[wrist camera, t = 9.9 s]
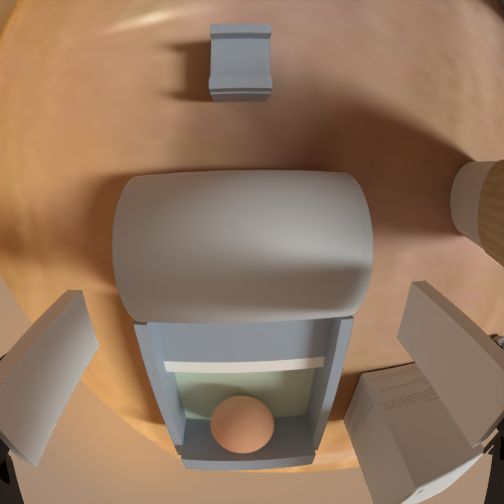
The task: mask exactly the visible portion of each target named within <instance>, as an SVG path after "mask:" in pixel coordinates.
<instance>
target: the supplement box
mask: <svg viewBox="0 0 504 504" xmlns="http://www.w3.org/2000/svg"><path fill="white" fill-rule="evenodd" d="M344 424H345V426H346V429H347V431H348V434H349V437H350V439H351V442H352V445H353V448H354V450H355V453H356V456H357V458H358V461H359V464H360V466H361V469H362V472H363V475H364V478H365V481H366V483H367V486H368V489H369V492H370V494H371V497H372V500H373V503H374V504H417V503H419V502H421V501H424V500H426V499H428V498H430V497H432V496H434V495H436V494H437V493H440V492H442V491H443V490H445V489H446V488H447V487H448V486H450V485H451V484H452V483H453V482H455V481H456V480H457V479H458V478H459V477H460V476H461V475H462V474H464V473H465V472H466V471H467V470H468V469H469V468H470V467H471V466H472V465H473V464H474V463H475V462H476V461H477V460H478V459H479V458H480V457H481V456H482V455H483V450H484V446H483V445H482V443H480V444H478V445H476V446H475V447H473V448H472V447H471V446H470V444H469V442H468V441H467V439H466V437H465V436H464V434H463V432H462V431H461V429H460V428H459V426H458V424H457V423H456V421H455V420H454V418H453V417H452V415H451V414H450V412H449V411H448V409H447V407H446V406H445V404H444V403H443V401H442V400H441V398H440V397H439V395H438V394H437V393H436V391H435V390H434V388H433V387H432V385H431V384H430V382H429V381H428V380H427V378H426V377H425V375H424V374H423V372H422V371H421V370H420V368H419V367H418V365H417V364H416V363H413V364H408V365H404V366H399V367H395V368H390V369H385V370H379V371H374V372H368V373H362V374H361V376H360V379H359V381H358V384H357V387H356V389H355V392H354V394H353V397H352V399H351V402H350V404H349V407H348V409H347V412H346V414H345V417H344Z"/></svg>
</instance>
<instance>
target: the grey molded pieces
mask: <svg viewBox="0 0 504 504" xmlns="http://www.w3.org/2000/svg"><path fill="white" fill-rule="evenodd" d="M210 36H211V75H210V78H209V91H210V95H211V97H212V100H213V102H224V101H267V99H268V98H269V96H270V94H271V90H272V77H270V36H271V24H244V23H243V24H211V25H210ZM112 260H113V270H114V276H115V281H116V285H117V289H118V292H119V295H120V298H121V301H122V303H123V305H124V307H125V309H126V311H127V312H128V314H129V315H130V316H131V317H132V318H133V319H134V320H136V321H135V323H134V324H133V325H134V329H135V333H136V337H137V340H138V344H139V348H140V351H141V355H142V358H143V361H144V365H145V368H146V371H147V374H148V377H149V380H150V383H151V386H152V389H153V392H154V395H155V398H156V401H157V404H158V406H159V409H160V412H161V414H162V417H163V420H164V422H165V425H166V427H167V430H168V432H169V434H170V437H171V439H172V441H173V444H174V446H175V448H176V451H177V453H178V455H182V456H181V460H182V462H183V464H184V466H185V468H186V469H200V470H259V469H274V468H285V467H294V466H301V465H308V464H312V462H313V460H314V457H315V455H316V454H315V450H318V447H319V444H320V442H321V439H322V436H323V433H324V430H325V427H326V424H327V421H328V418H329V415H330V412H331V408H332V405H333V402H334V398H335V395H336V391H337V388H338V384H339V380H340V377H341V373H342V369H343V365H344V361H345V357H346V353H347V348H348V344H349V340H350V335H351V330H352V326H353V321H354V318H353V316H352V314H354V313H355V312H356V311H357V310H358V308H359V307H360V306H361V304H362V302H363V300H364V298H365V295H366V293H367V289H368V286H369V282H370V277H371V272H372V263H373V231H372V223H371V217H370V212H369V208H368V204H367V201H366V198H365V195H364V193H363V191H362V189H361V187H360V185H359V183H358V182H357V180H356V179H355V178H354V177H353V176H352V175H350V174H348V173H346V172H329V171H306V170H219V171H195V172H178V173H164V174H152V175H141V176H135V177H132V178H131V179H130V180H129V181H128V182H127V183H126V185H125V186H124V188H123V190H122V192H121V194H120V197H119V200H118V203H117V206H116V211H115V215H114V222H113V230H112ZM241 395H243V396H250V397H254V398H256V399H258V400H260V401H261V402H263V403H264V404H265V405H266V406H267V407H268V408H269V410H270V411H271V413H272V416H273V419H274V430H273V434H272V436H271V438H270V440H269V441H268V442H267V443H266V444H265V445H264V446H263V447H262V448H260V449H258V450H256V451H254V452H250V453H235V452H232V451H229V450H227V449H225V448H223V447H222V446H221V445H220V444H219V443H218V442H217V441H216V440H215V438H214V436H213V435H212V432H211V427H210V422H211V416H212V414H213V412H214V410H215V408H216V407H217V406H218V405H219V404H220V403H221V402H222V401H224V400H226V399H228V398H230V397H234V396H241Z"/></svg>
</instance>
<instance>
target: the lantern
mask: <svg viewBox="0 0 504 504" xmlns="http://www.w3.org/2000/svg"><path fill="white" fill-rule="evenodd" d="M498 1H499V3H500V5H501V6H502V8H503V10H504V0H498Z"/></svg>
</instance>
